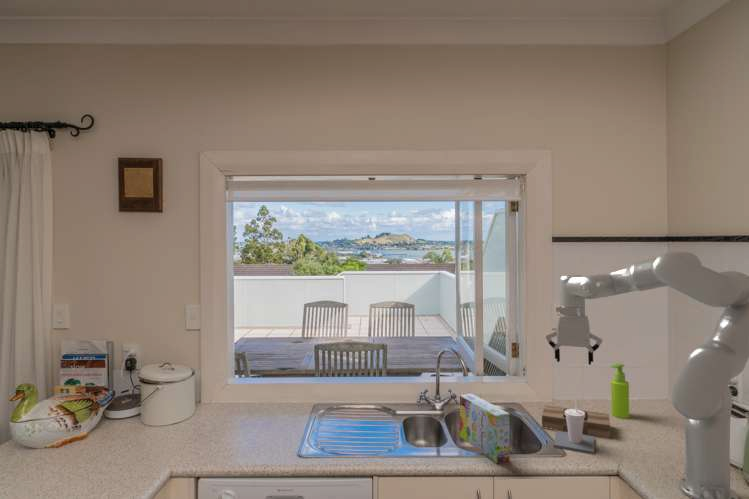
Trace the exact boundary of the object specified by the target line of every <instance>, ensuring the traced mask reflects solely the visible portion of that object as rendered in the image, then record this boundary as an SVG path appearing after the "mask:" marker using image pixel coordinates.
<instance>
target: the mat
mask: <svg viewBox="0 0 749 499" xmlns="http://www.w3.org/2000/svg"><path fill="white" fill-rule="evenodd" d="M553 448H558V449H561V450H562V449H563V450H569V451H575V452H580V453H586V454H592V455H595V436H591V435H585V434H582V440H581V443H573V442H571V441H569V435H568V432H566V431H559V430H555V437H554V442H553Z"/></svg>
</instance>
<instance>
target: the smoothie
mask: <svg viewBox="0 0 749 499" xmlns="http://www.w3.org/2000/svg"><path fill="white" fill-rule="evenodd" d="M583 411H584V410H582V411H581V409H578V399H575V408H568V409H567V410H565V415H566V421H567V428H568V435H569V441H571V442H573V443H581V440H582V435H583V434H582V432H583V424H584V418H585V413H584V412H583Z"/></svg>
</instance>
